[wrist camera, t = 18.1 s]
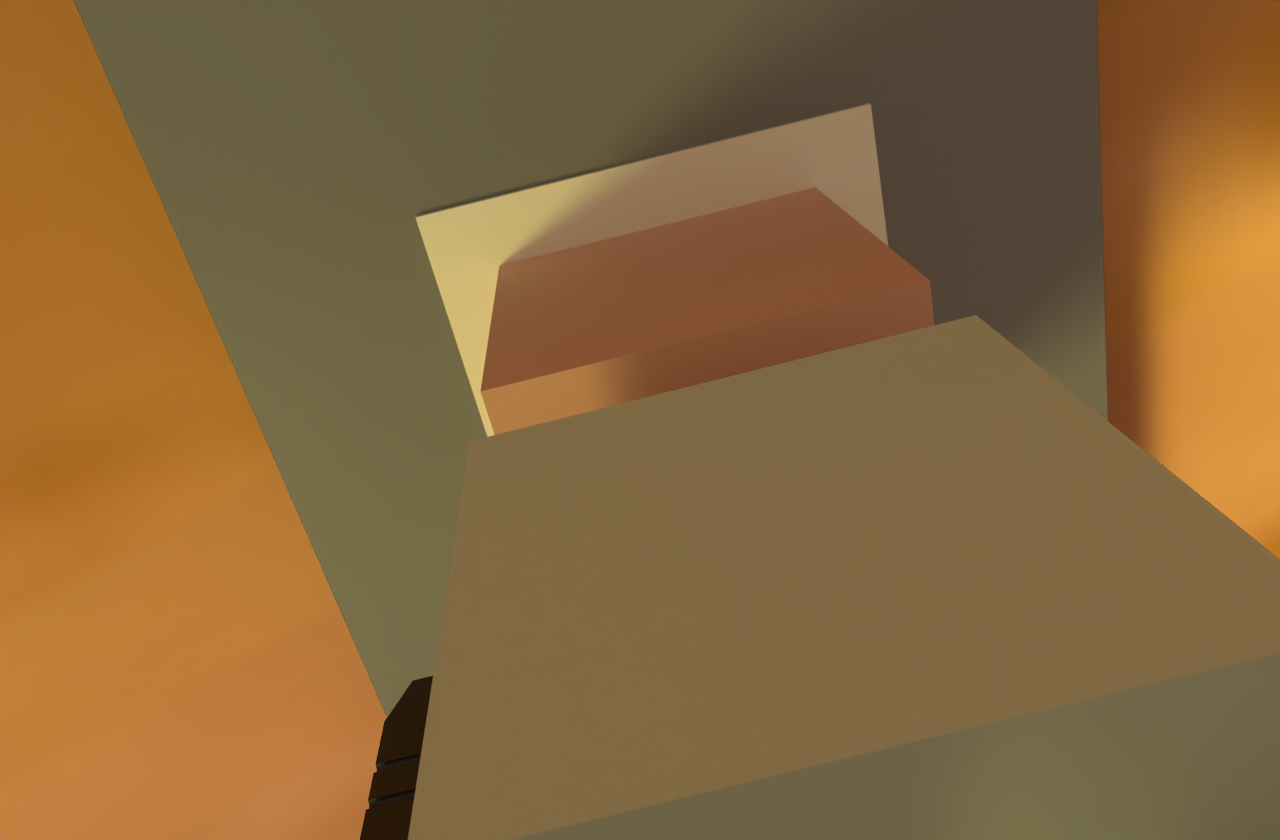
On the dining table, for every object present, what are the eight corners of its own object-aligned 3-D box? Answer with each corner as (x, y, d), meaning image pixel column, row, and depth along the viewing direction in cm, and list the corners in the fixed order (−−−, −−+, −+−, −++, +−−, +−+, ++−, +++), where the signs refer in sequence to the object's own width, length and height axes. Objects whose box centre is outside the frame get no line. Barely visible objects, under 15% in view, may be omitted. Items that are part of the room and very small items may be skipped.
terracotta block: (580, 535, 17) (592, 735, 13) (499, 265, 15) (479, 391, 11) (858, 467, 17) (968, 644, 13) (815, 187, 15) (929, 279, 11)
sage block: (596, 811, 12) (630, 1343, 7) (469, 441, 10) (404, 864, 5) (1011, 710, 12) (1310, 1186, 7) (975, 314, 10) (1367, 629, 5)
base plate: (464, 822, 22) (458, 886, 21) (36, -203, 14) (-29, -225, 12) (1078, 674, 22) (1118, 728, 20) (1024, -458, 14) (1085, -512, 12)
